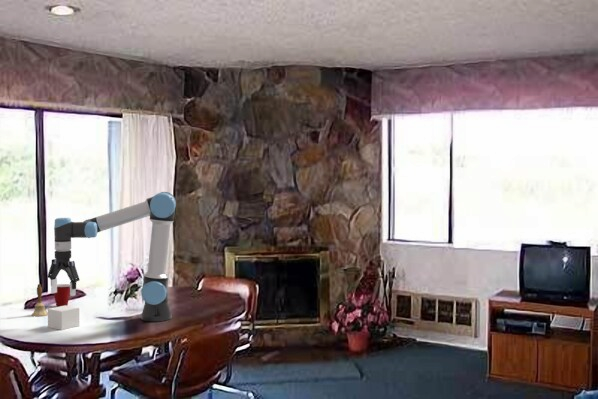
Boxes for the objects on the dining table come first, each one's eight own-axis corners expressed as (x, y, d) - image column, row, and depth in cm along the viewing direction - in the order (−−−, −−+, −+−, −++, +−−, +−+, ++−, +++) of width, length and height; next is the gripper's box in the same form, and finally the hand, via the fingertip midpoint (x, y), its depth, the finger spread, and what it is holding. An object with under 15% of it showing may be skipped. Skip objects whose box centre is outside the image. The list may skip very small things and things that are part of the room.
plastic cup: (75, 304, 387) (75, 282, 387) (67, 308, 377) (67, 286, 376) (57, 303, 388) (56, 282, 388) (48, 307, 378) (47, 285, 377)
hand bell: (42, 317, 355) (42, 286, 354) (28, 316, 357) (27, 285, 356) (51, 313, 363) (51, 283, 362) (37, 312, 365) (37, 282, 364)
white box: (79, 325, 336) (79, 307, 336) (61, 330, 328) (61, 311, 327) (65, 323, 342) (65, 305, 341) (47, 327, 333) (47, 308, 333)
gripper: (39, 249, 337) (40, 292, 338) (74, 252, 323) (74, 298, 324) (52, 247, 343) (53, 290, 344) (86, 251, 329) (87, 295, 330)
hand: (63, 294), depth 334 cm, fingers open, 13 cm apart
